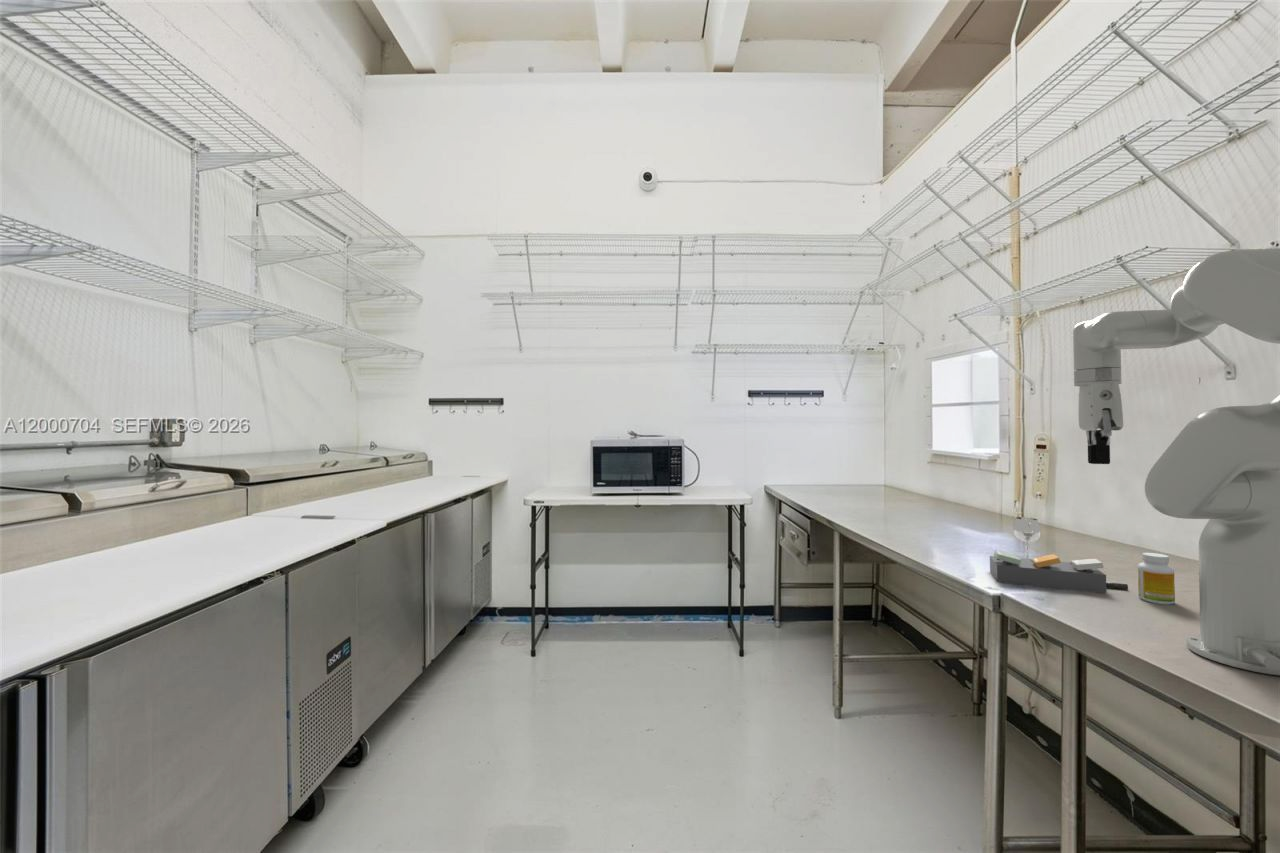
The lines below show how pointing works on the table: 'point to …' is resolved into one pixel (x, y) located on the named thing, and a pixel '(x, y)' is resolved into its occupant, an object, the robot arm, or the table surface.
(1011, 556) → the green rocker
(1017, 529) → the wineglass
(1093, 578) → the power strip
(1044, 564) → the orange white-striped slab
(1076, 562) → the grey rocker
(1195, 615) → the table surface
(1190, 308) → the robot arm
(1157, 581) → the supplement bottle
